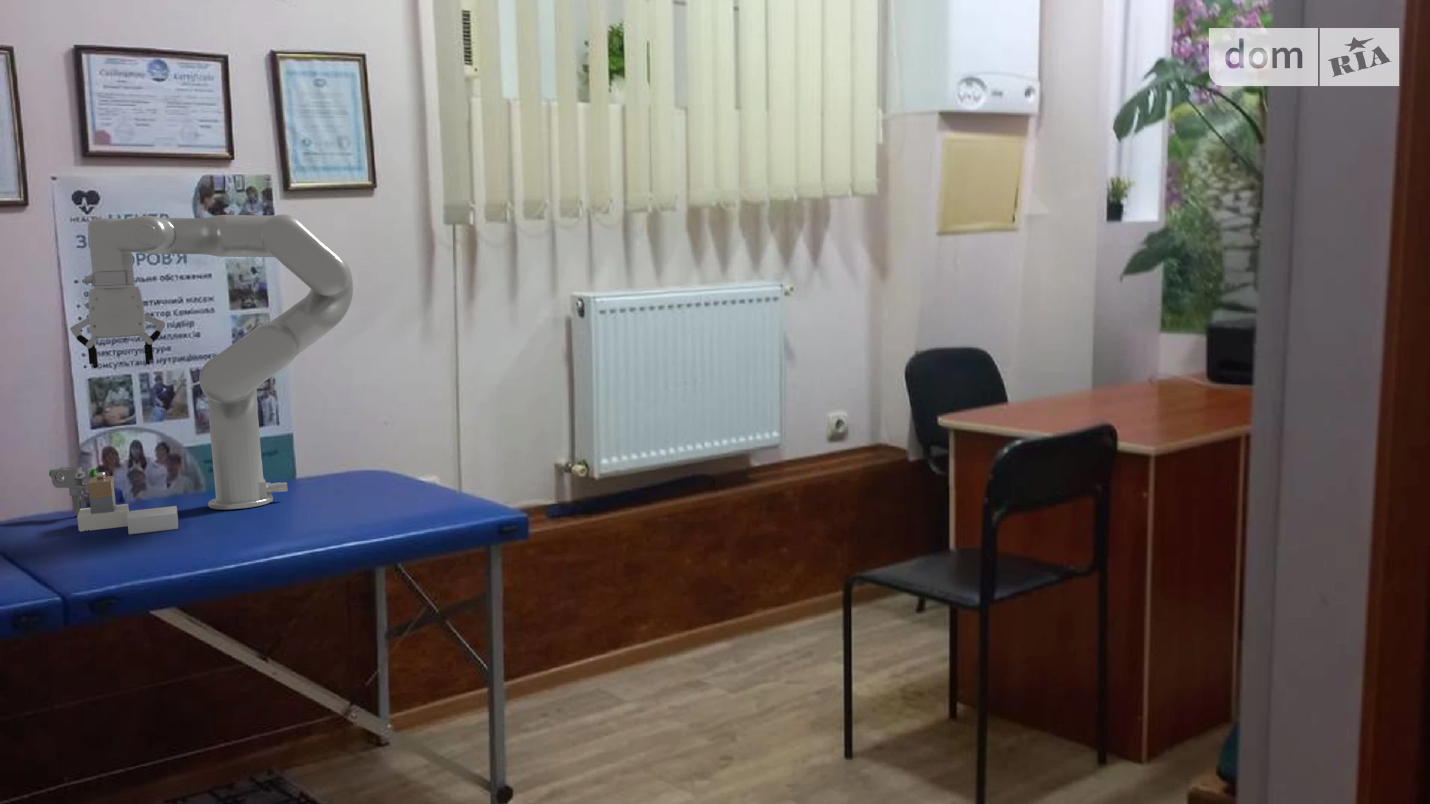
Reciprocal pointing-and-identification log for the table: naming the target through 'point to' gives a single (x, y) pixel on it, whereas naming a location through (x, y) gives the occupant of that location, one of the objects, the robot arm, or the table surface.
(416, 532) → the table surface
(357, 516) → the table surface
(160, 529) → the stand
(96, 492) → the housing
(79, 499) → the mechanical component
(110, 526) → the stand
